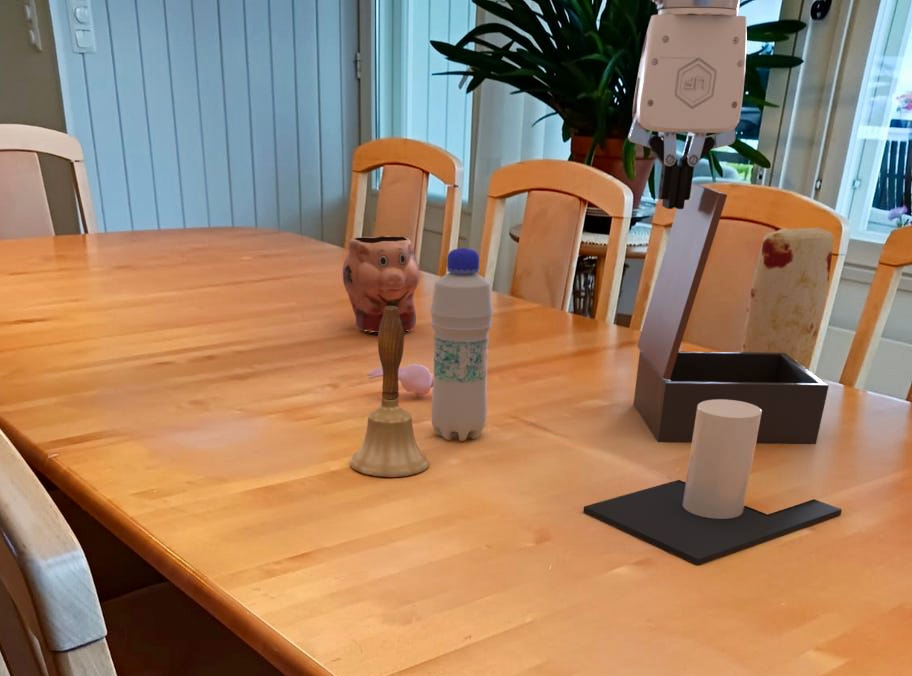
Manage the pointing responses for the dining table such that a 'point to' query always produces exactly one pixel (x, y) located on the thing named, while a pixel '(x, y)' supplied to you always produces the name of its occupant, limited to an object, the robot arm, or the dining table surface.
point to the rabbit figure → (410, 378)
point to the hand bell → (390, 414)
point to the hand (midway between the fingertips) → (672, 207)
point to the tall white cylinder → (721, 458)
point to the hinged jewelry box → (732, 394)
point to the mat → (701, 522)
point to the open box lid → (680, 277)
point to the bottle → (460, 347)
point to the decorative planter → (381, 279)
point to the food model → (788, 293)
